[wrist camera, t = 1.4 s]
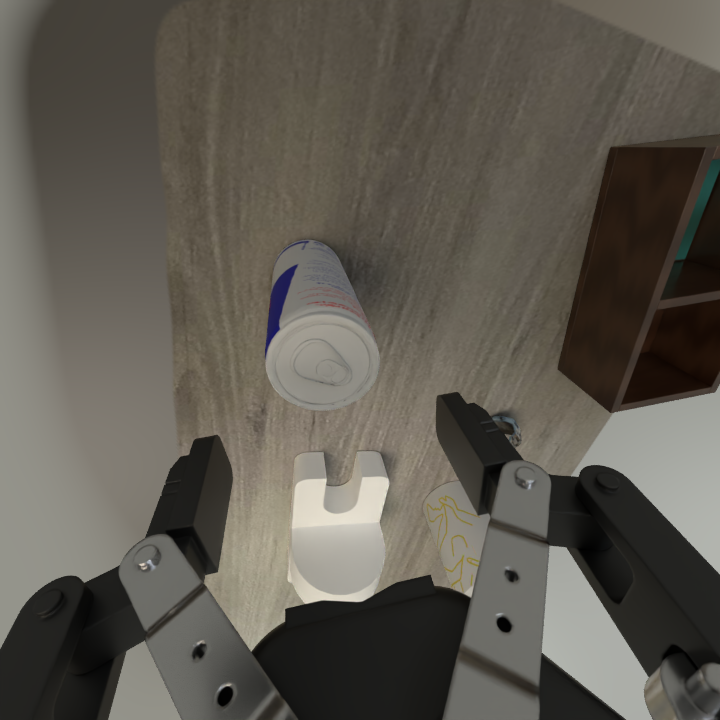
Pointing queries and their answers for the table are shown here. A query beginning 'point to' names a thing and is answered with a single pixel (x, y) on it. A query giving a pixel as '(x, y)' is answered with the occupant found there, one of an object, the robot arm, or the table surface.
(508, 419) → the wristwatch
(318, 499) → the bracket
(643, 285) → the caddy
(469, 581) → the cup
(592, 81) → the table surface
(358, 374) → the beverage can
